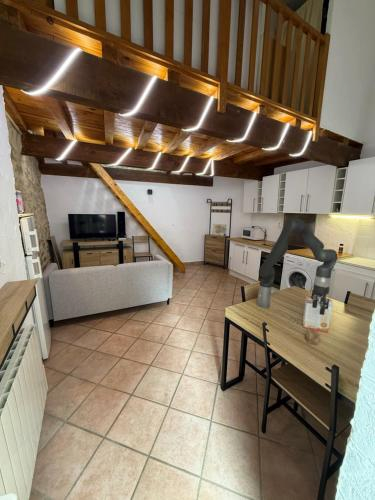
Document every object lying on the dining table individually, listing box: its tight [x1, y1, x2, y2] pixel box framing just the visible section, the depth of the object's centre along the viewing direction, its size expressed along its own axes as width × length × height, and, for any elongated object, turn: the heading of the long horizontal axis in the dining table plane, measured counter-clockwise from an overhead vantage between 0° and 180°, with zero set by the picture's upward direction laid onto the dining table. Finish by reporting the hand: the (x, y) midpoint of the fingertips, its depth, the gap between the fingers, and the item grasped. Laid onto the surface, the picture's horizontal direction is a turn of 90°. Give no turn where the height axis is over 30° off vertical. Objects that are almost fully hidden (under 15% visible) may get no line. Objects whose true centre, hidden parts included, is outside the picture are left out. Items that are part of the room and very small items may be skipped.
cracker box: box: [302, 295, 334, 333], centre depth 131 cm, size 14×6×21 cm, turn 68°
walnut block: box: [304, 328, 320, 346], centre depth 117 cm, size 5×5×7 cm
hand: (317, 311), depth 116 cm, fingers open, 8 cm apart
